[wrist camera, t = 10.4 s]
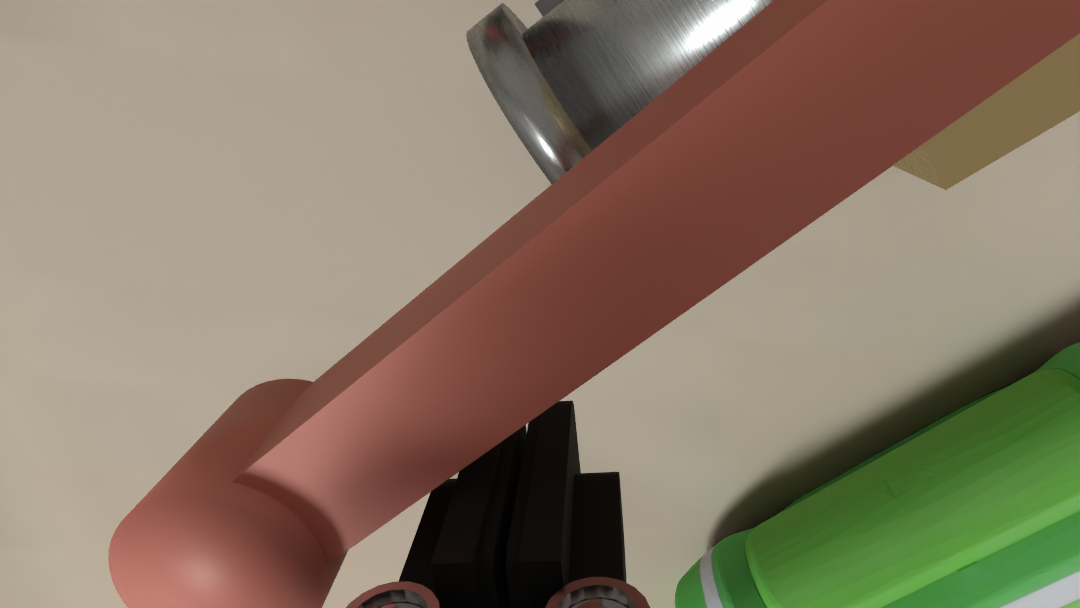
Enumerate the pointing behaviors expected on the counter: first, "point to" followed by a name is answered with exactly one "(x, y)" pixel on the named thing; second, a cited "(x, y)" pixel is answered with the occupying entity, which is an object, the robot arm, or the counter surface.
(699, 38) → the pipe valve
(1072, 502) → the speaker
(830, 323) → the counter surface
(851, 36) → the lever
